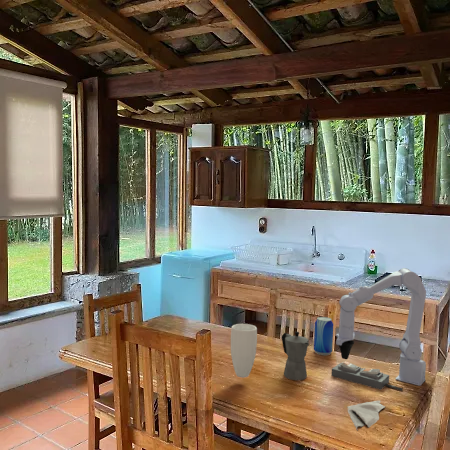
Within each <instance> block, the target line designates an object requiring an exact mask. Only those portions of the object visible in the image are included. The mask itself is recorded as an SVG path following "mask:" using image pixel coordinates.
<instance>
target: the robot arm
mask: <svg viewBox="0 0 450 450" xmlns="http://www.w3.org/2000/svg"><path fill="white" fill-rule="evenodd" d="M402 285H403V286H404V287H405V288H406V289H407V290H408V292H410V293H411V297H410V301H409V307H408V313H407V314H408V315H407V321H406V327H405V332H404V333H403V335H402V339H401V340H400V341H399V344H398V347H399V349H400V351H401V353H400V355H399V371H398V375H397V376H396V377H395V380H396V381H400V382H403V383H407V384H411V385H415V386H420V387H421V386H422V384H424V382H425V381H426V372H427V371H426V368H427V364H426V360H423V359H420V358H421V357H422V355H423V353H422V351H423V350H422V347H421V346H422V345H421V344H422V343H421V337H420V335H421V328H422V322H423V321H422V320H423V315H424V309H425V304H426V303H425V302H426V296H427V289H426V288H425V286H424V283H423V281H422V278H421V277H420V276H419V275H418V274H417V273H416V272H414V271H412V270H410V269H409V268H400V269H399V270H395V271H394V272H392V273H390V274H388V275H386V276H385V277H383V278H382V279H381V280H378V281H377V282H375V283H373V284H372V285H369V286H367V285H360V286H358V289H355V290H354V291H352V292H348V294H345V295H342V296H341V298H339V299H340V300H339V301H338V302H339V303H338V304H339V306H340V309H339V311H340V313H339V324H338V325H339V327H338V333H336V334H335V337H336V338H337V339H335V340H336V341H335V344H336V345H337V346H338V347H339V351H340V356H341V359H344V360H348V359H349V356H350V353H351V350H352V347H353V345H354V344H355V341H354V339H355V338H356V332H355V317H356V316H355V311H356V309H357V307H359V306H361V305H362V304H365V303H366V302H369V301H370V300H372V299H373V297H374V295H375V294H377V293H379V292H382V291H384V290H385V289H388V288H390V287H392V286H395V287H402Z"/></svg>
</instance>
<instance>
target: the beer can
mask: <svg viewBox="0 0 450 450" xmlns="http://www.w3.org/2000/svg"><path fill="white" fill-rule="evenodd" d="M313 335H314V336H313V351H314V352H315V354H316V353H317V355H320V356H329V355H331V354H332V352H333V344H334V343H333V341H334V323H333V321H332V318H331V317H327V316H318V317H317V318H316V320H315V322H314V334H313Z"/></svg>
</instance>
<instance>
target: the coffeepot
mask: <svg viewBox="0 0 450 450" xmlns="http://www.w3.org/2000/svg"><path fill="white" fill-rule="evenodd" d="M281 341H282V343H281V344H282V348H283V352H284V353H285V354H286V355H287V359H286V361H285V362H286V363H285V366H284V371H283V375H284V377H285V378H286V379H288V380H292V381H304V380H305V379H306V378H308V373H307V365H306V361H305V359H306V358H305V357H307V352H308V346H310V342H309V341H310V340H309V339H308V338H307V337H305V336H300V332H299V331H295V332H294V335H292V334H289V333H287V332H284V333H283V334H282V335H281Z"/></svg>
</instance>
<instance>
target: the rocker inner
mask: <svg viewBox="0 0 450 450" xmlns="http://www.w3.org/2000/svg"><path fill="white" fill-rule="evenodd" d="M362 372H364V373H368V374H378V373H379V372H381V369H379V368H366V369H365V370H363V371H362Z"/></svg>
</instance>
